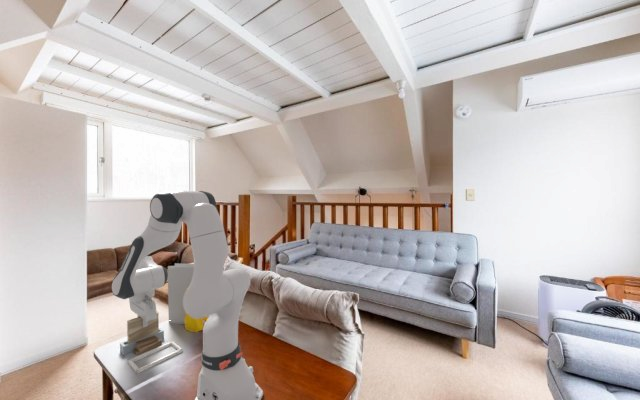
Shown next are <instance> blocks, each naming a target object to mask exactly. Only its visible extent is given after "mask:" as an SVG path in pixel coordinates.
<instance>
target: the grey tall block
mask: <svg viewBox="0 0 640 400" xmlns="http://www.w3.org/2000/svg"><path fill="white" fill-rule="evenodd" d="M193 271H194V263H174V265H168V266H167V272H168V279H167V285H168V286H167V287H168V288H167V291H168V292H167V295H168V297H167V298H168V299H167V301H168V302H167V303H168V308H167V309H168V323H169V324H180V325H182V324H184V325H185V322H184V318H185V317H186V313H185V310H184V307H183V297H184V294H185V292H186V290H187V288H189V286H190V283H191V280H192V277H193ZM169 320H171V321H169Z"/></svg>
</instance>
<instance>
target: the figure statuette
mask: <svg viewBox="0 0 640 400" xmlns="http://www.w3.org/2000/svg"><path fill="white" fill-rule="evenodd" d="M187 289H188V288H187ZM186 291H187V290H186ZM185 313H186V312H185ZM207 319H208V316H206V317H203V318H200V319H195V318H192V317H190V316H189V315H188V314H187V313H186V317H185V318H184V322H185V324H184V327H185V330H186V331H189V332H192V333H193V332H194V333H198V332H201V331H203V327H204V323H205V322H206V321H207ZM203 321H204V322H203Z"/></svg>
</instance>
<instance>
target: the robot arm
mask: <svg viewBox="0 0 640 400" xmlns="http://www.w3.org/2000/svg"><path fill="white" fill-rule="evenodd" d="M149 212H150V216H149V219H148V222H147V223H148V224H147V226H146V228H145V229H144V230H143V231H142V232H141V234H140V235H138V236H136V237H135V238H134V239H133V240H132V241H131V244H130V246H129V247H128V250H127V253H126V255H125V257H124V259H123V261H122V264H121V266H120V268H119V270H118V272H117V273H116V274H115V276H114V278H113V280H112V282H111V293H112V294H113V295H114V296H115V297H116V298H119V299H122V300H127V299H128V300H129V301H128V302H129V307H130V310H131V312H133V313H134V314H136V315H137V317H141V318H142V320H143V322H142V326H143V327H146V326H148V321H151V320H154V319H156V317H157V313H156V311H157V304H156V301H155V300H154V299H152V298H153V297H155V295H156V291H155V290H157V289H160V288H162V287H164V286H165V284H167V283H168V268H167V267H164V266H163V265H158V263H156V262H155V261H154V259H153V257H152V256H151V255H150V254H152V253H154V252H156V251H158V250H161V249H163V248H166V247H169V246H170V245H172V244H173V243H174V242H176V241H177V239H178V237H179V235H180V232H181V229H182V225H183V223H185V225H186V227H187V230H188V236H189V242H190V244H191V245H190V246H191V252H192V256H193V264H194V271H193V277H192V280H191V283H190V286H189V288H188V289H187V291H186V292H185V294H184V297H183V307H184V310H185V312H186V313H187V314H188V315H189V316H190V317H192V318H195V319H200V318H202V319H203V317H207V318H208V319H207V321H206V322H205V321H204V323H203V330H202V350H201V355H200V356H201V358H200V359H201V364H202V366H201V369H200V372H199V373H198V377H197V391H196V396H195V398H194V400H262V398H263V396H264V391H263V389H262V388H261V387H260V385H259V384H258V383H257V382H256V380H255V376H254V368H253V366H251V365H249V366H248V364H247V363H246V359H245V358H244V357H242V356H243V355H244V354H243V353H244V352H243V351H242V350H241V345H240V343H239V319H240V313H241V310H242V306H243V302H244V299H245V297H246V294H247V292H248V290H249V288H250V287H251V286H250V285H251V278H250V275H249V273H248V272H247V271H246V270H245V269H243V268H241V267H237V268H231V269H230V268H229V269H226V270H224V267H225V266H224V265H225V261H226V259H227V257H228V256H229V252H230V250H229V245H228V242H227V236H226V232H225V228H224V224H223V221H222V219H221V218H222V217H221V215H220V214H219V211H218V209H217V201H216V199H215V197H214V195H213V194H212V193H211V192H207V191H203V190H196V191H194V190H174V191H173V190H172V191H163V192H158V193H156V194H155V195H153V196H152V198H151V200H150V202H149Z"/></svg>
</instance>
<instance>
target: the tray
mask: <svg viewBox="0 0 640 400" xmlns="http://www.w3.org/2000/svg"><path fill="white" fill-rule="evenodd" d="M170 341H171V340H170ZM170 341H168V342H169V343H167V344H164V345H162V346H160V347H157V348H155V349H153V350H151V351H148V352H146V353H144V354H141V355H139V356H137V357H135V358H132V359H130V360H127V361H128V362H127V363H128V365H129V366H130V367H131V368H132V369H133V371H134V372H135V373H136V374H140V373H141V372H143V371H145V370H148V369H150V368H153V367H154V366H156V365H158V364H159V363H162V362H164V361H167V360H168V359H170V358H172V357H175V356H177V355H178V354H181V353H183V352H184V350H183V347H181V346H179V345H178V344H177V343H176V342H174V341H173V340H172V341H171V342H170ZM168 347H173V348H174V349H175V350H174V351H173V352H171V353H169V354H166V355H164V356H163V357H160V358H158V359H156V360H154V361H151V362H149V363H146V364H145V365H143V366H141V367H139V366H138V365H137V364H136V363H135V362H136V361H139V360H141V359H143V358H144V359H145V357H148V356H151V355H152V354H155V353H157V352H159V351H162V350H163V349H166V348H168Z"/></svg>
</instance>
